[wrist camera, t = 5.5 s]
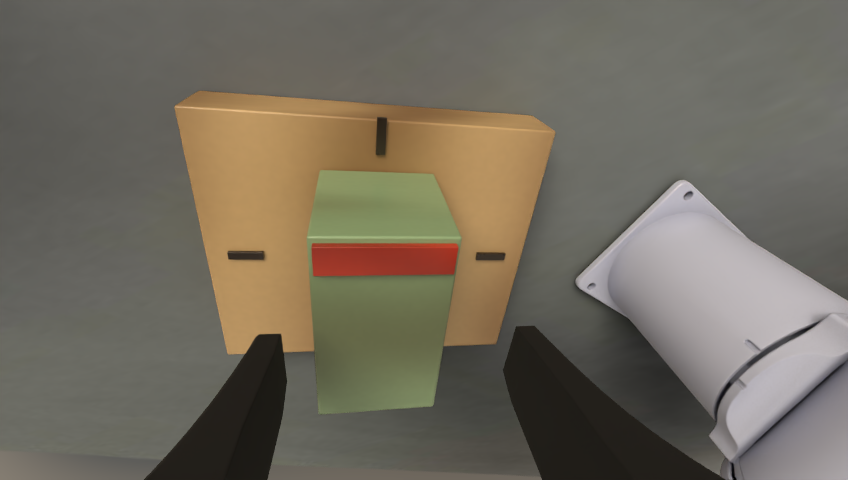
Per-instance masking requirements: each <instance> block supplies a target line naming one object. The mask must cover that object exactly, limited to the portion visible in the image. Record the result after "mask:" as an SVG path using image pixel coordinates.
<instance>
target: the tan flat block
mask: <svg viewBox="0 0 848 480" xmlns="http://www.w3.org/2000/svg"><path fill="white" fill-rule="evenodd" d="M175 112H176V117H177V121H178V126H179V131H180V135H181V140H182V144H183V149H184V154H185V158H186V163H187V168H188V172H189V177H190V181H191V186H192V191H193V195H194V200H195V205H196V209H197V214H198V218H199V223H200V228H201V232H202V237H203V242H204V246H205V251H206V255H207V260H208V265H209V269H210V274H211V279H212V283H213V288H214V293H215V297H216V302H217V306H218V311H219V316H220V320H221V325H222V330H223V334H224V339H225V343H226V348H227V353H228V354H245V353H246V352H247V350H248V349H249V347H250V345H251V344H252V342H253V340H254V339H255V337H256V336H257V335H259V334H281V336H282V344H283V352H305V351H314V340H313V325H312V311H311V296H310V282H309V267H308V253H307V232H308V227H309V222H310V217H311V212H312V207H313V202H314V197H315V192H316V186H317V181H318V176H319V172H320V170H335V171H364V172H394V173H423V174H434V176H435V178H436V180H437V183H438V185H439V187H440V189H441V192H442V194H443V196H444V198H445V201H446V203H447V205H448V207H449V210H450V212H451V214H452V216H453V219H454V221H455V223H456V226H457V228H458V230H459V232H460V235H461V237H462V241H461V247H460V253H459V258H458V264H457V270H456V276H455V282H454V288H453V294H452V299H451V305H450V311H449V317H448V323H447V329H446V334H445V340H444V346H461V345H487V344H496V343H497V339H498V336H499V332H500V329H501V325H502V322H503V318H504V314H505V311H506V307H507V304H508V300H509V297H510V293H511V289H512V286H513V282H514V279H515V275H516V272H517V268H518V265H519V261H520V257H521V254H522V250H523V247H524V243H525V240H526V236H527V232H528V229H529V225H530V222H531V218H532V215H533V211H534V208H535V204H536V200H537V197H538V193H539V190H540V186H541V183H542V179H543V176H544V172H545V168H546V165H547V161H548V158H549V154H550V151H551V147H552V143H553V140H554V136H555V131H554V130H552V129H551V128H549V127H548V126H547V125H545V124H544V123H542V122H541V121H539V120H538V119H536V118H535V117H533V116H530V115H517V114H503V113H490V112H477V111H463V110H450V109H437V108H423V107H410V106H396V105H383V104H370V103H356V102H343V101H330V100H316V99H303V98H289V97H276V96H263V95H249V94H236V93H223V92H209V91H198V92H196V93H194V94H193V95H191V96H190V97H188V98H186V99H185V100H183V101H182V102H180V103H178V104H177V105H175Z"/></svg>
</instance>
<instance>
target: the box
mask: <svg viewBox="0 0 848 480" xmlns="http://www.w3.org/2000/svg"><path fill="white" fill-rule="evenodd" d="M461 241H462V237H461V235H460V232H459V230H458V228H457V226H456V223H455V221H454V219H453V216H452V214H451V212H450V210H449V207H448V205H447V203H446V201H445V198H444V196H443V194H442V192H441V189H440V187H439V185H438V183H437V180H436V178H435V176H434V174H423V173H394V172H364V171H335V170H320V172H319V176H318V181H317V186H316V192H315V197H314V202H313V207H312V212H311V217H310V222H309V227H308V232H307V253H308V267H309V282H310V296H311V311H312V325H313V340H314V354H315V369H316V384H317V398H318V412H319V414H334V413H348V412H362V411H375V410H389V409H403V408H416V407H430V406H433V404H434V399H435V393H436V387H437V381H438V375H439V370H440V364H441V358H442V352H443V346H444V340H445V334H446V329H447V323H448V317H449V311H450V305H451V299H452V294H453V288H454V282H455V276H456V270H457V264H458V258H459V253H460V247H461Z"/></svg>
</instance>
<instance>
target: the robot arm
mask: <svg viewBox="0 0 848 480" xmlns="http://www.w3.org/2000/svg"><path fill="white" fill-rule="evenodd" d="M686 193H687V194H686ZM685 194H686V195H685ZM684 195H685V196H684ZM575 283H576V285H577V286H578V287H579V289H581V290H583V291H584V292H586V293H588V294H589V295H591V296H593V297H594V298H596V299H597V300H599V301H601V302H602V303H604V304H606V305H607V306H609V307H611V308H612V309H614V310H616V311H617V312H619V313H621V314H622V315H624V316H626V317H627V318H629V319H630V321H631V322H632V323H633V324H634V325H635V327H636V328H637V329H638V330H639V331H640V332H641V334H642V335H643V336H644V337H645V338H646V340H647V341H648V342H649V343H650V344H651V345H652V347H653V348H654V349H655V350H656V351H657V353H658V354H659V355H660V356H661V357H662V359H663V360H664V361H665V362H666V363H667V364H668V366H669V367H670V368H671V369H672V370H673V372H674V373H675V374H676V375H677V376H678V377H679V379H680V380H681V381H682V382H683V383H684V385H685V386H686V387H687V388H688V389H689V390H690V392H691V393H692V394H693V395H694V396H695V398H696V399H697V400H698V401H699V402H700V403H701V405H702V406H703V407H704V408H705V409H706V411H707V412H708V413H709V414H710V415H711V416H712V418H713V419H714V420H715V421H716V422H717V424H716V426H715V428H714V429H713V431H712V432H711V433H710V434H709V437H710V438H711V439H712V441H713V442H714V443H715V444H716V446H717V447H718V448H719V449H720V451H721V452H722V453H723V454H724V456H725V457H726V458H725V459H724V461H723V463H722V466H721V471H720V474H721V477H720V476H719V475H717V474H715V473H714V472H712V471H710V470H709V469H707V468H706V467H704V466H702V465H701V464H699V463H698V462H696V461H694V460H693V459H691V458H690V457H688V456H687V455H685V454H684V453H682V452H681V451H679V450H678V449H676V448H675V447H673V446H672V445H671V444H669V443H668V442H666V441H665V440H663V439H662V438H660V437H659V436H658V435H656V434H655V433H653V432H652V431H651V430H649V429H648V428H647V427H646V426H644V425H643V424H642V423H640V422H639V421H638V420H636V419H635V418H634V417H632V416H631V415H630V414H629V413H627V412H626V411H625V410H624V409H622V408H621V407H620V406H619V405H618V404H616V403H615V402H614V401H613V400H612V399H611V398H609V397H608V396H607V395H606V394H605V393H604V392H602V391H601V390H600V389H599V388H598V387H597V386H596V385H595V384H593V383H592V382H591V381H590V380H589V379H588V378H587V377H586V376H585V375H584V374H583V373H582V372H581V371H580V370H578V369H577V368H576V367H575V366H574V365H573V364H572V363H571V362H570V361H569V360H568V359H567V358H566V357H565V356H564V355H563V354H562V353H561V352H560V351H559V350H558V349H557V348H556V347H555V346H554V345H553V344H552V343H551V342H550V341H549V340H548V339H547V338H546V337H545V336H544V335H543V334H542V333H541V332H540V331H539V330H538V329H537V328H536V327H535V326H516V329H515V332H514V336H513V339H512V342H511V346H510V349H509V352H508V356H507V359H506V362H505V366H504V369H503V371H504V375H505V379H506V384H507V387H508V391H509V395H510V398H511V402H512V404H513V407H514V410H515V412H516V415H517V417H518V420H519V422H520V425H521V427H522V430H523V432H524V435H525V437H526V440H527V442H528V445H529V447H530V450H531V452H532V455H533V457H534V460H535V462H536V465H537V467H538V470H539V472H540V475H541V478H542V480H848V301H847V300H845V299H844V298H842V297H840V296H839V295H837V294H836V293H834V292H832V291H831V290H829V289H828V288H826V287H824V286H823V285H821V284H819V283H818V282H816V281H815V280H813V279H811V278H810V277H808V276H807V275H805V274H803V273H802V272H800V271H799V270H797V269H795V268H794V267H792V266H791V265H789V264H787V263H786V262H784V261H783V260H781V259H779V258H778V257H776V256H775V255H773V254H771V253H770V252H768V251H766V250H765V249H763V248H762V247H760V246H758V245H757V244H755V243H754V242H752V241H750V240H749V239H748V238H747V237H746V236H745V235H744V234H743V233H742V232H741V231H740V230H739V229H738V228H737V227H735V226H734V225H733V224H732V223H731V222H730V221H729V220H728V219H727V218H726V217H725V216H724V215H723V214H722V213H721V212H720V211H719V210H718V209H717V208H716V207H715V206H714V205H713V204H712V203H710V202H709V201H708V200H707V199H706V198H705V197H704V196H703V195H702V194H701V193H700V192H699V191H698V190H697V189H696V188H695V187H694V186H693V185H692V184H691V183H689V182H687V181H685V180H679V181H677V182H676V183H674V184H673V185H672V186H671V187H670V188H669V189H668V190H667V191H666V192H665V193H664V194H663V195H662V196H661V197H660V198H659V199H658V200H657V201H656V202H654V203H653V204H652V205H651V206H650V207H649V208H648V209H647V210H646V211H645V212H644V213H643V214H642V215H641V216H640V217H639V218H638V219H637V220H636V221H635V222H634V223H633V224H632V225H631V226H630V227H629V228H628V229H627V230H625V231H624V232H623V233H622V234H621V235H620V236H619V237H618V238H617V239H616V240H615V241H614V242H613V243H612V244H611V245H610V246H609V247H608V248H607V249H606V250H605V251H604V252H603V253H602V254H601V255H600V256H599V257H598V258H597V259H595V260H594V261H593V262H592V263H591V264H590V265H589V266H588V267H587V268H586V269H585V270H584V271H583V272H582V273H581V274H580V275H579V276H578V277H577V278H576V281H575ZM589 284H591V285H589ZM588 285H589V286H588ZM286 384H287V378H286V369H285V361H284V353H283V344H282V336H281V334H259V335H257V336H256V337H255V339H254V340H253V342H252V344H251V345H250V347H249V349H248V350H247V352H246V353H245V355H244V357H243V358H242V360H241V361H240V363H239V364H238V366H237V367H236V369H235V370H234V371H233V373H232V374H231V376H230V377H229V379H228V380H227V381H226V383H225V384H224V385H223V387H222V388H221V390H220V391H219V392H218V394H217V395H216V397H215V398H214V399H213V401H212V402H211V403H210V404H209V406H208V407H207V408H206V409H205V411H204V412H203V413H202V414H201V416H200V417H199V418H198V419H197V421H196V422H195V423H194V424H193V426H192V427H191V428H190V429H189V431H188V432H187V433H186V434H185V435H184V436H183V438H182V439H181V440H180V441H179V442H178V443H177V444H176V446H175V447H174V448H173V449H172V450H171V451H170V452H169V453H168V455H167V456H166V457H165V458H164V459H163V460H162V461H161V462H160V463H159V464H158V465H157V467H156V468H155V469H154V470H153V471H152V472H151V473H150V474H149V475H148V476H147V477H146V478H145V479H144V480H267V479H268V474H269V470H270V466H271V462H272V458H273V454H274V450H275V445H276V441H277V437H278V433H279V429H280V424H281V420H282V415H283V408H284V400H285V392H286Z"/></svg>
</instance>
